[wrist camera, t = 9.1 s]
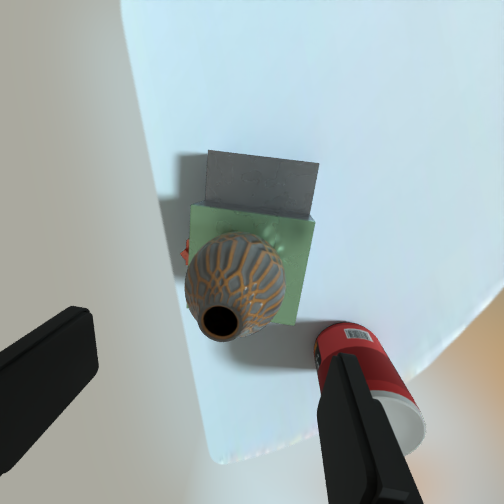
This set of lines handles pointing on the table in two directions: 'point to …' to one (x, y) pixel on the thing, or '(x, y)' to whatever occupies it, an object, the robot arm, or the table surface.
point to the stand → (259, 212)
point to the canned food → (374, 378)
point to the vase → (234, 285)
